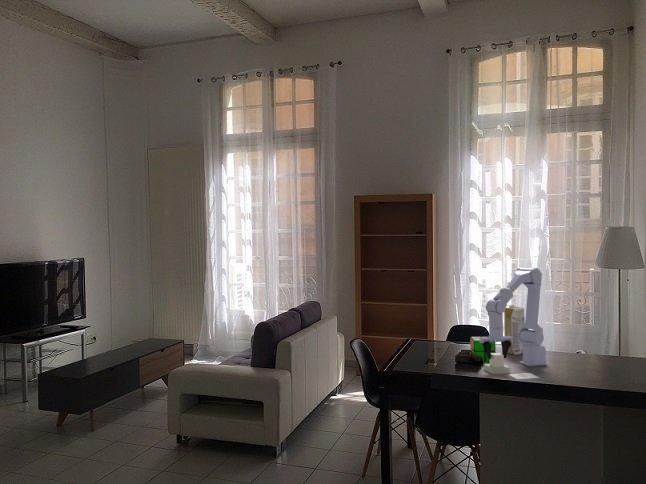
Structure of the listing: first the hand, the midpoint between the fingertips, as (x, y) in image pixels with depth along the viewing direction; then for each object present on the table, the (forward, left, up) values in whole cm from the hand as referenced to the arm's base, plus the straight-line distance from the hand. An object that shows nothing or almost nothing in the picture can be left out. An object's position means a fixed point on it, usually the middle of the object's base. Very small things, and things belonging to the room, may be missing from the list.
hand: (496, 358), depth 232 cm
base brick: (0, 0, -6) cm, 6 cm away
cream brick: (0, 0, -3) cm, 3 cm away
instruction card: (-7, +10, -6) cm, 13 cm away
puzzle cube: (-4, -23, -6) cm, 24 cm away
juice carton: (-25, -32, -6) cm, 41 cm away
